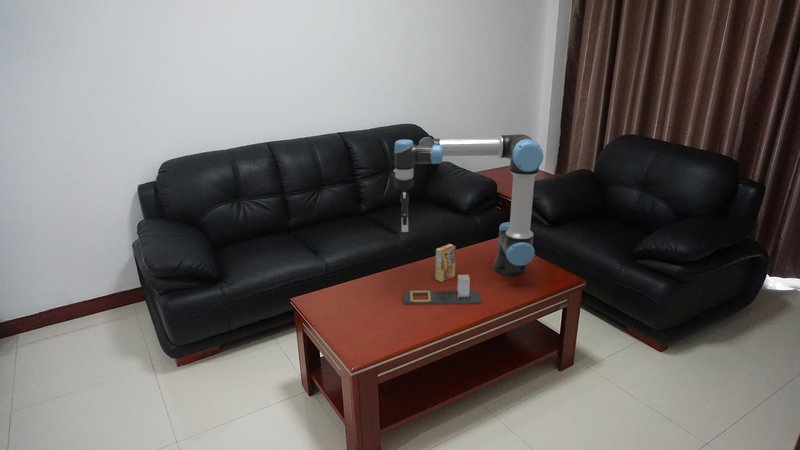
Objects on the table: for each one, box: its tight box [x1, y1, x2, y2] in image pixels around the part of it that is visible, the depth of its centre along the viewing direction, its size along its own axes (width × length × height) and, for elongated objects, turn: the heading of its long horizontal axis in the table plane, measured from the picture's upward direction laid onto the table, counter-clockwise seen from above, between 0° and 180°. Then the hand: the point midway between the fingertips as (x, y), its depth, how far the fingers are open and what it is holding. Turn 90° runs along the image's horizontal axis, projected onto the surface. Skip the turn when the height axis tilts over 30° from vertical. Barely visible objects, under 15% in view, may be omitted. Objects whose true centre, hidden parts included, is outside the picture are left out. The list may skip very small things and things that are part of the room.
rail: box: [403, 290, 482, 305], centre depth 208 cm, size 32×9×1 cm, turn 90°
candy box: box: [434, 243, 457, 282], centre depth 223 cm, size 9×4×15 cm, turn 129°
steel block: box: [456, 274, 471, 300], centre depth 206 cm, size 4×4×10 cm
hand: (404, 225), depth 211 cm, fingers open, 13 cm apart
